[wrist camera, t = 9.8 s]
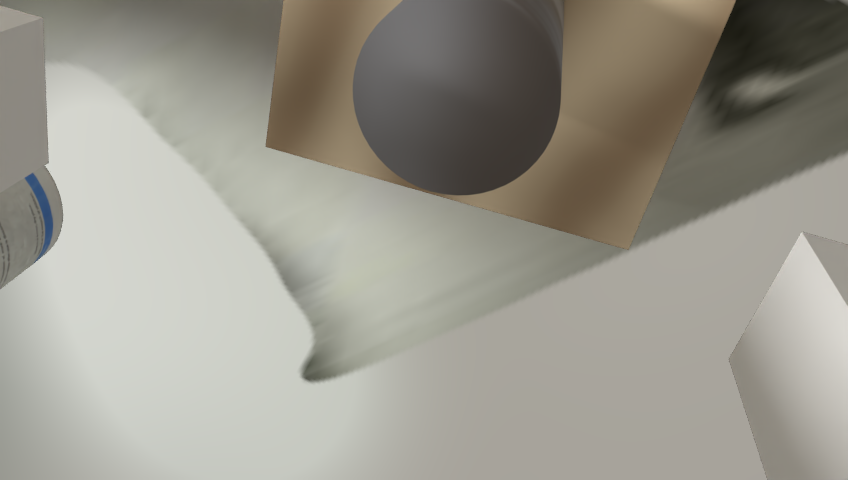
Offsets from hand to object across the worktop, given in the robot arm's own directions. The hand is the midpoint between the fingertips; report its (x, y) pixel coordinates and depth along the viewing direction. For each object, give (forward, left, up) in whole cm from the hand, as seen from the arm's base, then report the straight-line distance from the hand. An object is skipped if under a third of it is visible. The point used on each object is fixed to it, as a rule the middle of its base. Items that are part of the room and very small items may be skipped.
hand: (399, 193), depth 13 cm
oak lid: (0, 0, -18) cm, 18 cm away
